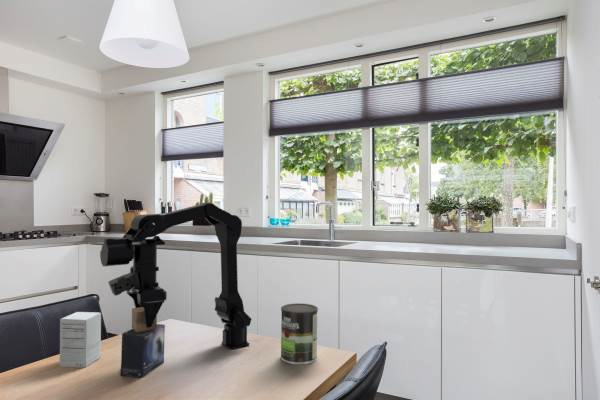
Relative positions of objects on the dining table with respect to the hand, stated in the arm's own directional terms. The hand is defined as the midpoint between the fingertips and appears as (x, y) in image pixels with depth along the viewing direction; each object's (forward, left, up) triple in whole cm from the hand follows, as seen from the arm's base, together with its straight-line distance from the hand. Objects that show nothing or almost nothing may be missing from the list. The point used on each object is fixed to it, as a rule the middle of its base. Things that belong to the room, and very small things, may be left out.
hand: (144, 323), depth 106 cm
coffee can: (-38, +16, -12) cm, 43 cm away
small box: (0, 0, -12) cm, 12 cm away
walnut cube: (0, 0, -1) cm, 1 cm away
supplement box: (+13, -14, -12) cm, 23 cm away
